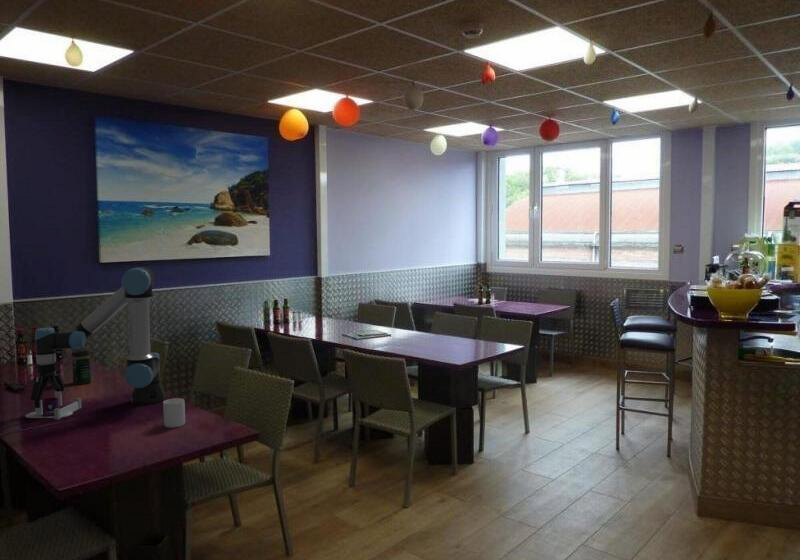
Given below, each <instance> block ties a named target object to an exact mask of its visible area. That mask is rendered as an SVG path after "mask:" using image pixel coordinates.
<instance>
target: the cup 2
mask: <svg viewBox="0 0 800 560" xmlns="http://www.w3.org/2000/svg"><path fill="white" fill-rule="evenodd" d="M185 405H186V404H185V399H184V398H180V397H179V398H178V397H177V398H169V399H165V400H163V401H162V406H163V425H164V427H166V428H168V429H169V428H170V429H171V428H172V429H173V428H179V427H180V428H181V427H182V426H184V425H185V423H186V409H185V408H186V407H185Z"/></svg>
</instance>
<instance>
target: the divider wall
mask: <svg viewBox="0 0 800 560" xmlns="http://www.w3.org/2000/svg"><path fill="white" fill-rule="evenodd" d="M79 409H82V398H81V397H78V398H76V399H75V401H74V402H72V403H70V404H68V405H66V406H64V407H62V408H60V407H59V408H56V409H54V418H53V420H57V421H58V420H61V418H63V417H62V416H64V415H66V414H68V413H70V412H73V413H74V412H75V411H78V410H79Z"/></svg>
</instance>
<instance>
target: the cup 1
mask: <svg viewBox="0 0 800 560" xmlns="http://www.w3.org/2000/svg"><path fill="white" fill-rule="evenodd" d="M41 400H42V407H43V415H42V416H43V417H49V416H54V409H56V408H60V406H59V403H58V398H56V397H55V396H54V397H45V398H43V399H42V398H41Z"/></svg>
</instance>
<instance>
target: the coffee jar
mask: <svg viewBox="0 0 800 560" xmlns="http://www.w3.org/2000/svg"><path fill="white" fill-rule="evenodd" d="M90 353H91V352H90V350H88V349H84V348H77V349H73V350H72V351H71V360H72V361H71V362H72V382H73V384H75V385H87V384H90V383H91V382H92V375H91V354H90Z"/></svg>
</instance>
